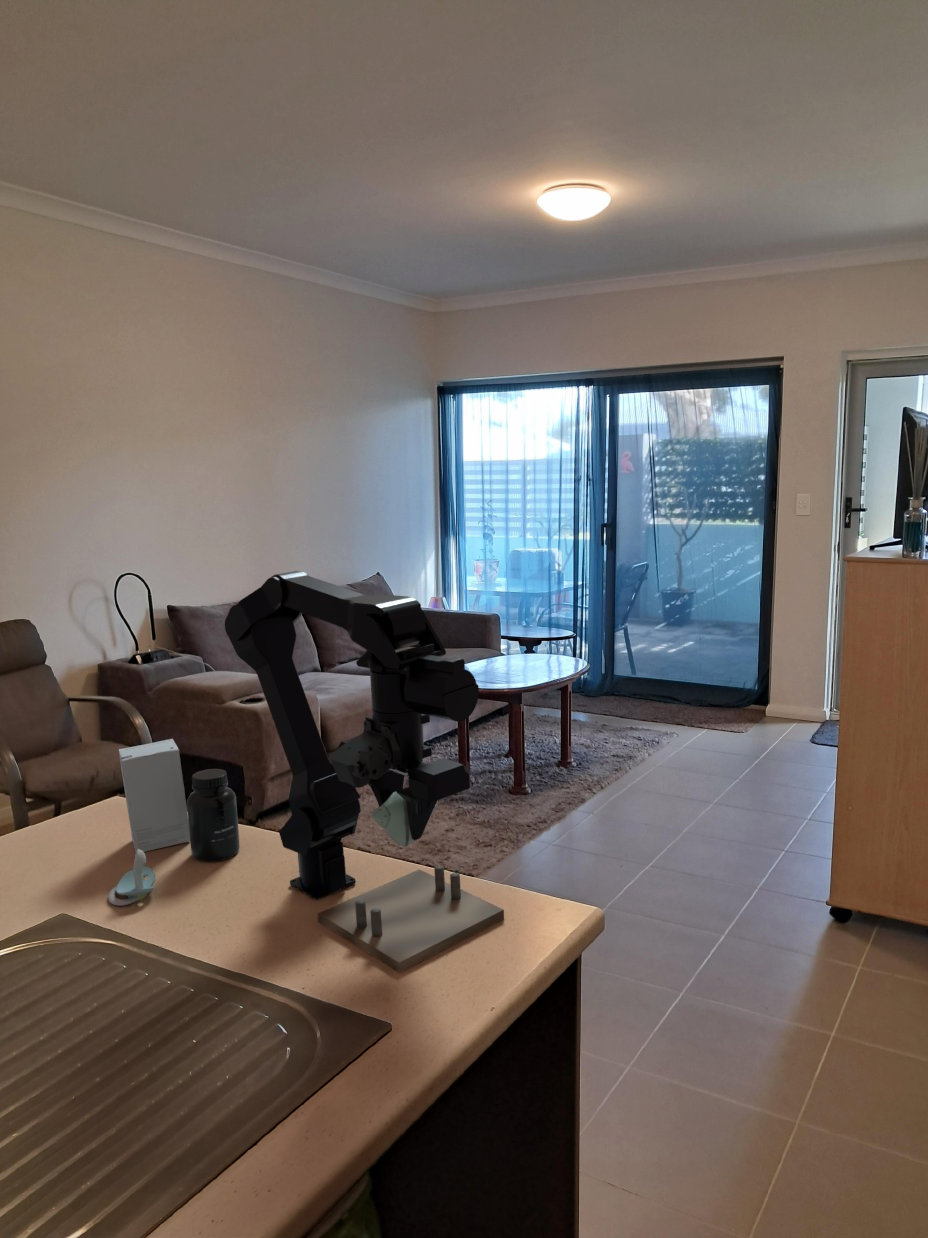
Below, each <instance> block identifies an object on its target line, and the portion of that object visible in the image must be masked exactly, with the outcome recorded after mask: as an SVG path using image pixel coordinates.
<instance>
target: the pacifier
mask: <svg viewBox="0 0 928 1238" xmlns="http://www.w3.org/2000/svg"><path fill="white" fill-rule="evenodd" d="M134 855H135V856H134V860H133V868H132V869H130V870H129V871H127V872H125V873H124V875H123V876H122V877H121V878H120V879H119V882H118V883H117V885H115V886H114V887H113V888H112V889H110V891H109V893H108V896H107V897H108V898H107V900H108V901H109V904H112V905H114V906H121V907H122V906H128V905H130V904H132V903H135V902H136V901H141V900H144V899H145V898H146V897H147V896H148V893H149V892H153V891H155V890H156V887H155V886H153V885H154V884H155V883H156V882H155V881H156V873H155V871H154V870H153V869H151V868H150V867H148V866H146V864H147V856H146V854H145V852H143V851H142V850H140V849H137V851H136V852H135V854H134ZM146 877H148V878H146ZM144 878H146V879H144ZM117 895H119V896H127V898H125V899H122V898H121V899H119V898H117V897H116V896H117Z"/></svg>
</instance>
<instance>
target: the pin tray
mask: <svg viewBox="0 0 928 1238" xmlns="http://www.w3.org/2000/svg"><path fill="white" fill-rule="evenodd" d="M460 876H461V875H460V873H459V872H452V873H450V874H449V877H450V878H449V879H450V881H449V882H450V883H449V882H447V881H445V867H444V866H443V865H436V866H434V875H432V874H430V873H428V872H426V871H423V870H422V869H417V870H414V871H412V872H410V873H408V874H405V875H403V876H401V877H398V878H396V879H394V880H391V881H389V882H386V883H385V884H382V885H379V886H378V887H374V888H373V889H370V890H368V891H365V892H364V893H361V894H359V895H356V896H354V897H352V898H349V899H347V900H344V901H343V902H340V903H338V904H336V905H333V906H331V907H329V908H327V909H324V910H322V911H319V912H317V921H318V923H319V924H321V925H322V926H323V927H325V928H327V929H329V930H330V931H332V932H334V933H335V934H337V935H338V936H340V937H342V938H343V939H345V940H347V941H348V942H350V943H352V944H353V945H354V946H356V947H358V948H359V949H361V950H363V951H364V952H366V953H368V954H369V955H371V956H372V957H374V958H376V959H377V960H378V961H380V962H382V963H384V964H385V965H387V966H388V967H390V968H392V969H393V970H395V971H397V972H398V973H402V972H403V971H406V970H408V969H409V968H411V967H413V966H416V965H417V964H419V963H421V962H423V961H425V960H427V959H429V958H431V957H433V956H435V955H436V954H438V953H441V952H443V951H444V950H446V949H448V948H450V947H452V946H454V945H456V944H457V943H460V942H462V941H464V940H466V939H469V938H470V937H472V936H475V934H478V933H480V932H481V931H483V930H486V929H487V928H489V927H491V926H493V925H495V924H497V923H499V922H501V921H503V920H505V909H503V908H501V907H499V906H497V905H495V904H493V903H491V902H488V901H487V900H485V899H482V898H481V897H478V896H476V895H474V894H472V893H469V892H468V891H466V890H464V889H461V877H460Z"/></svg>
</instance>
